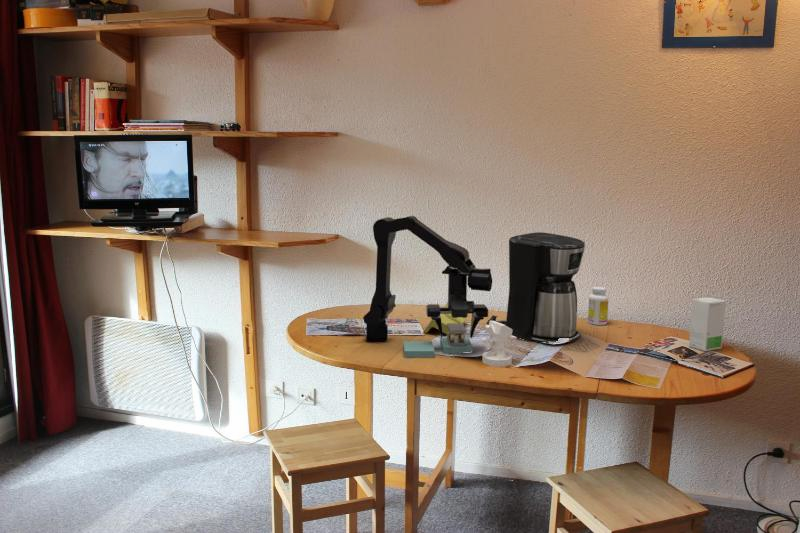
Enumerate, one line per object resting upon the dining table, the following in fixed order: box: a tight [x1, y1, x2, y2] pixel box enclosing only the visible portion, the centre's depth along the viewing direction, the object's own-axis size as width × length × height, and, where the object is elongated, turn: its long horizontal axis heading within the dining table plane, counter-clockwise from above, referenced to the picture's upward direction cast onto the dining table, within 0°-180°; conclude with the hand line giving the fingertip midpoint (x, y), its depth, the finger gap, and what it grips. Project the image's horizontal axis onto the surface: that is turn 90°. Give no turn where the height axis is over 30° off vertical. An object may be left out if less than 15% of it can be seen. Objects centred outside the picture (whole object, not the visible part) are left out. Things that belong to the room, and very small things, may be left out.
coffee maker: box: [486, 231, 586, 343], centre depth 224 cm, size 23×32×34 cm
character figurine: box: [481, 320, 517, 368], centre depth 198 cm, size 9×10×12 cm
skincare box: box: [688, 297, 727, 352], centre depth 213 cm, size 8×7×16 cm
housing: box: [446, 323, 467, 346], centre depth 210 cm, size 5×8×5 cm, turn 2°
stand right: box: [439, 336, 474, 354], centre depth 211 cm, size 9×10×2 cm
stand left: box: [402, 340, 436, 359], centre depth 207 cm, size 9×10×2 cm
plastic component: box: [422, 302, 469, 336], centre depth 234 cm, size 20×7×10 cm
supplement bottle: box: [587, 286, 609, 326], centre depth 240 cm, size 7×7×13 cm
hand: (456, 337), depth 211 cm, fingers open, 9 cm apart
